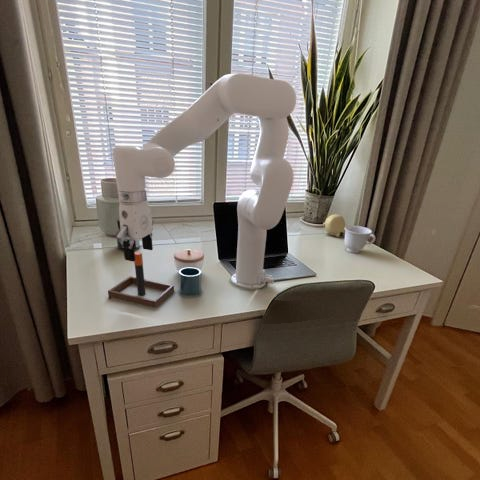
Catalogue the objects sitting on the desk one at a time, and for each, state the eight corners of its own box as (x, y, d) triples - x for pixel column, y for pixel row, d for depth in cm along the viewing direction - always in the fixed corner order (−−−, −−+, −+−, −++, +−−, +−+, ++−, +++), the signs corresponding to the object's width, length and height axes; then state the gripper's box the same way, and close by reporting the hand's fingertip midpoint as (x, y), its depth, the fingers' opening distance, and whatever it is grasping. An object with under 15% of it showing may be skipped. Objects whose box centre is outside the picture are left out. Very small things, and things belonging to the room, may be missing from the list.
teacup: (362, 259, 151) (368, 237, 146) (334, 249, 161) (339, 227, 155) (377, 254, 158) (383, 232, 153) (349, 244, 168) (354, 223, 162)
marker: (147, 293, 112) (143, 252, 105) (143, 296, 110) (139, 255, 103) (140, 291, 113) (136, 251, 106) (136, 295, 111) (131, 253, 104)
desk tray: (174, 292, 115) (173, 285, 114) (155, 309, 105) (155, 301, 104) (130, 283, 119) (129, 276, 118) (108, 298, 109) (107, 291, 108)
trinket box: (206, 279, 125) (206, 254, 120) (176, 281, 122) (175, 256, 117) (200, 267, 134) (200, 243, 129) (172, 269, 131) (171, 245, 126)
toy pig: (330, 244, 177) (348, 234, 170) (317, 224, 175) (336, 212, 168) (335, 238, 184) (352, 228, 177) (323, 219, 182) (341, 208, 175)
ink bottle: (143, 249, 146) (140, 221, 139) (122, 253, 141) (118, 224, 135) (135, 242, 152) (132, 215, 146) (114, 245, 148) (111, 217, 141)
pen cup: (204, 289, 118) (204, 269, 114) (195, 298, 112) (195, 277, 108) (185, 286, 120) (184, 265, 116) (176, 294, 114) (175, 273, 110)
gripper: (126, 204, 88) (134, 267, 97) (160, 191, 102) (164, 247, 111) (101, 201, 90) (111, 263, 99) (137, 188, 104) (143, 243, 113)
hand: (139, 254), depth 105 cm, fingers open, 9 cm apart
